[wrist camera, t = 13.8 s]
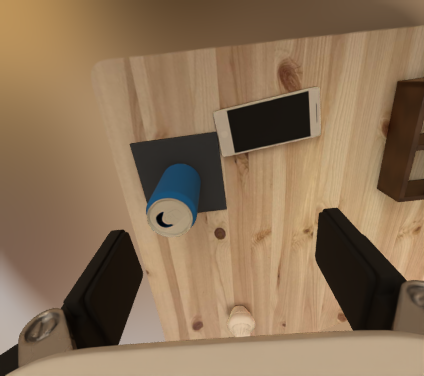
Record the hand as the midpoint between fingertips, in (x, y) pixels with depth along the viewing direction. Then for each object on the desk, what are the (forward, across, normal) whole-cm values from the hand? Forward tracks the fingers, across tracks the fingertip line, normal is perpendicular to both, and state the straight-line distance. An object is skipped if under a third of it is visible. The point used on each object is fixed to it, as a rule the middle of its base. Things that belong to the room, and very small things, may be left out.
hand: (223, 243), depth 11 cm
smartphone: (+27, -8, 0) cm, 28 cm away
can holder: (+27, -31, +5) cm, 41 cm away
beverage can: (+26, +7, +8) cm, 29 cm away
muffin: (+26, 0, +42) cm, 50 cm away
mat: (+27, +7, +8) cm, 29 cm away
